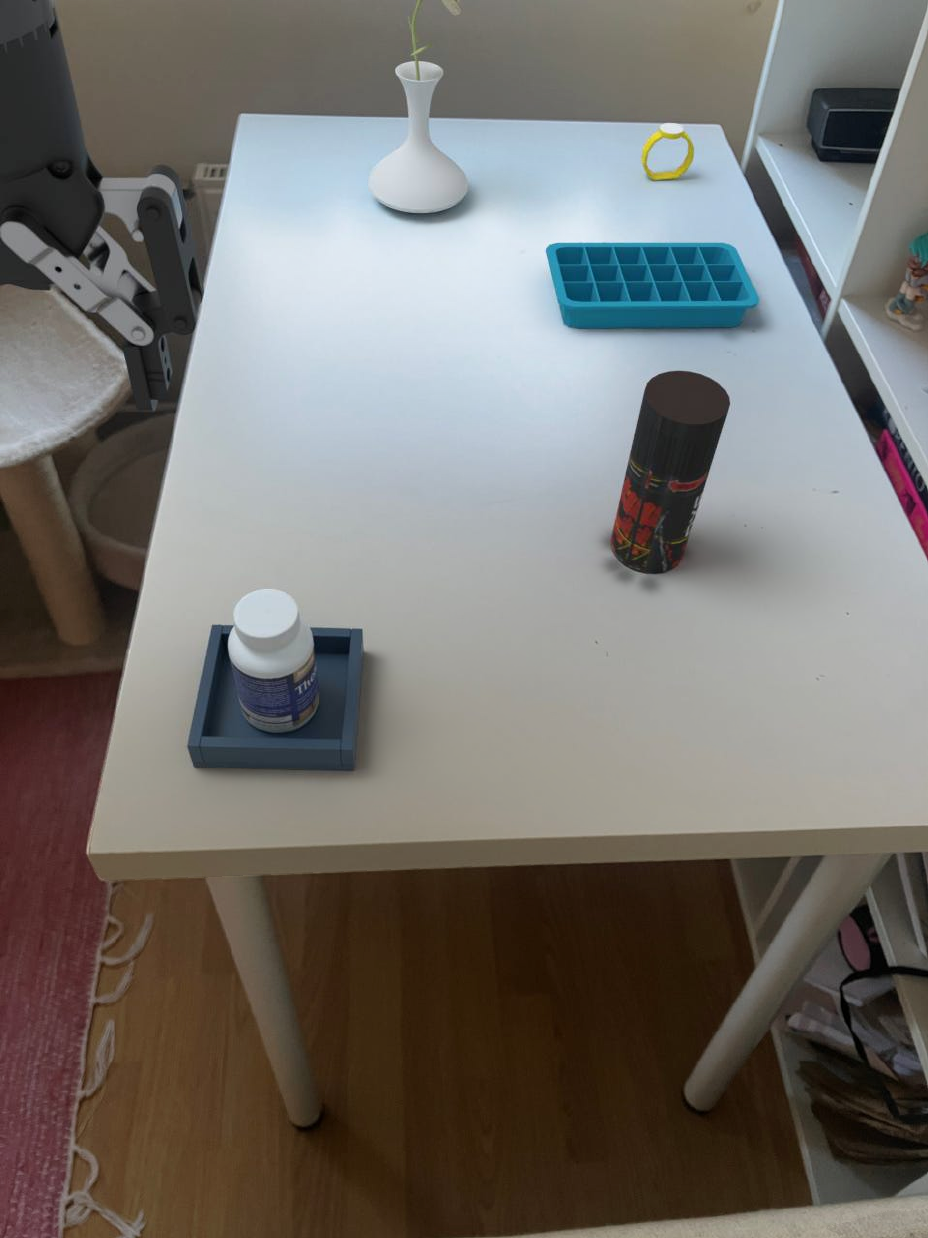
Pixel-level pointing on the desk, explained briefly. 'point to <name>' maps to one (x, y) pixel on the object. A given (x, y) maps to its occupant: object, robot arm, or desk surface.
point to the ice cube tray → (650, 284)
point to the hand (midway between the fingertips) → (54, 395)
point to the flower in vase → (419, 146)
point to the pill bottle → (273, 662)
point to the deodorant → (668, 469)
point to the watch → (669, 133)
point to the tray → (313, 746)
